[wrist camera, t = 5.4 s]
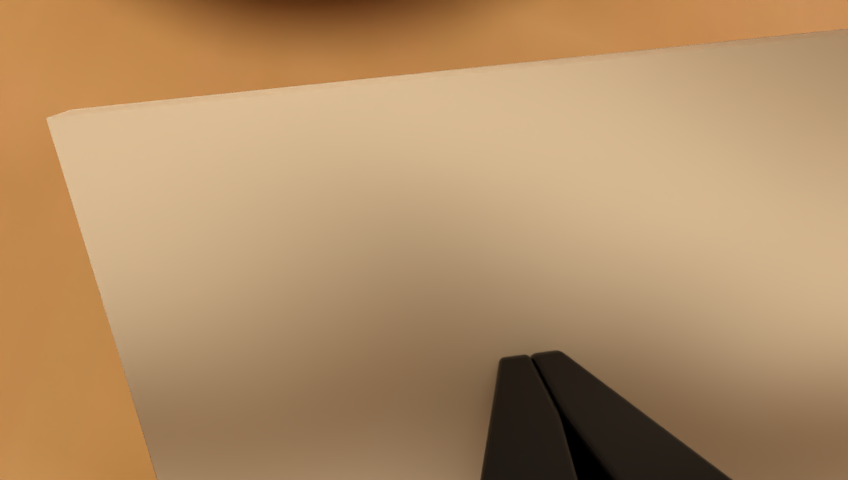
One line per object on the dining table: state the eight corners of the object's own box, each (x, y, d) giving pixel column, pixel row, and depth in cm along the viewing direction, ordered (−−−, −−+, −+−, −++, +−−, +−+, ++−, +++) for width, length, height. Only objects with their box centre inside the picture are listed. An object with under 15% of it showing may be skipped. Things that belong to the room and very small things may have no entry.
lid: (807, 603, 12) (829, 634, 11) (240, 692, 11) (234, 728, 10) (909, 22, 8) (951, 22, 7) (70, 109, 7) (46, 118, 7)
